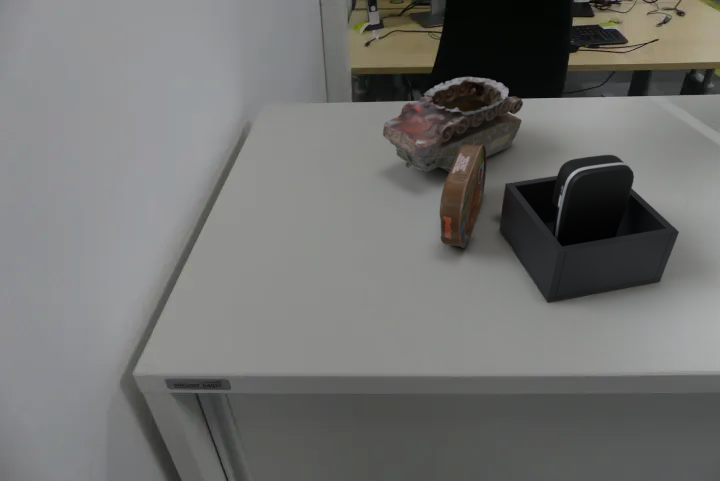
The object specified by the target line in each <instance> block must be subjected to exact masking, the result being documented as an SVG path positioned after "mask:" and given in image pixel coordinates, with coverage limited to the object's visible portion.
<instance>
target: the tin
mask: <svg viewBox="0 0 720 481" xmlns="http://www.w3.org/2000/svg"><path fill="white" fill-rule="evenodd" d="M486 171H487V157H486V148H485V146H484V145H463V146H462V147H461V148H460V149H459V152H458V154H457V156H456V158H455V160H454V163H453V165H452V167H451V169H450V172H448V174H447V177H446V179H445V181H444V184H443V188H442V192H441V197H440V203H439V219H440V241H441V243H442V244H444V245H448V246H454V247H461V248H463V249H464V248H466V247H467V246H468V243H469V241H470V238H471V236H472V233H473V229H474V226H475V224H476V220H477V218H478V215H479V211H480V209H481V206H482V201H483V197H484V190H485V184H486V173H487V172H486Z"/></svg>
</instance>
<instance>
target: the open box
mask: <svg viewBox="0 0 720 481" xmlns="http://www.w3.org/2000/svg"><path fill="white" fill-rule="evenodd" d="M557 176H558V175H553V176H545V177H539V178H533V179H527V180H520V181H513V182H506V183H505V185H504V193H503V199H502V207H501V215H500V223H499V232H500V233H501V235H502V236H503V238H504V239H505V241H506V242H507V244H508V245H509V247H510V248H511V250H512V251H513V253H514V255H515V256H516V258H517V259H518V260H519V262H520V263H521V265H522V267H523V268H524V269H525V271H526V272H527V274H528V275H529V277H530V279H531V280H532V282H533V283H534V284H535V286H536V287H537V290H539V292H540V293H541V295H542V297H543V298H544V300H545V301H546V302H547V303H552V302H557V301H561V300H568V299H572V298H579V297H584V296H590V295H594V294H600V293H605V292H611V291H616V290H621V289H627V288H633V287H638V286H644V285H648V284H654V283H655V284H656V283H659V282H661V280H662V278H663V275H664V272H665V270H666V267H667V264H668V261H669V259H670V258H671V254H672V251H673V248H674V246H675V243H676V241H677V238H678V235H679V233H680V231H679V230H678V229H677V228H676V227H675V226H674V225H672V224H671V223H670V222H669V221H668V220H667V219H666V218H665V217H664V216H662V215H661V213H659V212H658V210H656V209H655V208H654V207H653V206H652V205H651V204H650V203H648V201H646V199H644V198H643V197H642V196H641V195H640V194H639V193H637V191H636V190H634V189H633V187H632V188H631V192H630V196H629V199H628V202H627V206H626V209H625V211H624V214H623V217H622V220H621V223H620V226H619V228H618V231H617V234H616V237H614V238H609V239H603V240H597V241H591V242H585V243H579V244H574V245H568V246H563V247H562V246H561V244H560V243H559V242H558V241H557V239H556V238H555V237H554V236H553V230H554V223H555V216H556V210H557V208H556V207H555V205H554V204H553V202H552V198H553V192H554V188H555V183H556V179H557Z"/></svg>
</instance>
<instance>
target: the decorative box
mask: <svg viewBox="0 0 720 481" xmlns="http://www.w3.org/2000/svg"><path fill="white" fill-rule="evenodd" d="M433 86H434V87H432V88H429V90H426V91H425V92H424V93H423V95H424V96H422V97H420V98H419V99H418V100H417V101H415V102H412V101H411V102H407V103H405V104H403V107H402V108H401V111H400V114H399V115H398V116H397V117H393V118H391V119H390V120H387V121H385V122H384V123H383V131H382V136H383V137H384V138H385V139H387V140H388V141H389V143H390V144H391V145H393V146H394V147H395V151H396V156H397V157H399V158H400V159H402V160H403V161H405V168H406V169H410V167H413V168H415V169H416V170H418V171H420V172H421V171H422V172H424V173H427V172H429V171H433V170H434V169H437V168H440V169H443V170H445V171H446V172H448V173H449V172H450V169H451V167H452V165H453V163H454V160H455V158H456V156H457V154H458V152H459V149H460V148H461V147H462V146H463V145H484V146H485V148H486V158H488V157H490V156H493V155H494V154H497V153H499V152H501V151H503V150H505V149H508V148H511V147H512V144H513V142H514V140H515V139H516V137H517V134H518V132H519V130H520V128H521V124H522V119H521V118H519V117H517V116H515V115H516V114H517V113H519V112H520V111H521V109H522V108H523V105H524V101H523V99H522V98H519V97H517V96H515V95H514V96H508V95H509V92H510V91H509V90H510V89H509V88H508V86H505V85H504V83H502V82H498V81H496V79H495V80H494V79H491V78H485V77H476V76H475V77H474V76H461V77H455V78H453V79H451V80H446V81H445V82H440V83H439V84H437V85H433Z"/></svg>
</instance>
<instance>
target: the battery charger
mask: <svg viewBox="0 0 720 481" xmlns="http://www.w3.org/2000/svg"><path fill="white" fill-rule="evenodd" d="M634 174H635V173H634V171H633V169H632V167H631V166H630V165H629V164H628V163H626V162H624V161H623V160H622V159H621V158H620V157H619V156H618V155H615V154H603V155H602V154H601V155H592V156H585V157H579V158H572V159H569V160H567V161H566V162H564V163H563V164H562V165H561V167H560V168H559V171H558V172H557V175H556V176H557V179H556V183H555V188H554V192H553V198H552V202H553V204H554V205H555V207H556V208H557V210H556V216H555V223H554V230H553V236H554V237H555V238H556V239H557V241H558V242H559V243H560V244H561V246H562V247H563V246H568V245H574V244H579V243H585V242H591V241H597V240H603V239H609V238H614V237H616V234H617V231H618V228H619V226H620V223H621V220H622V217H623V214H624V211H625V209H626V206H627V202H628V199H629V196H630V192H631V188H632V189H633V184H634V179H635V175H634Z"/></svg>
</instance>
